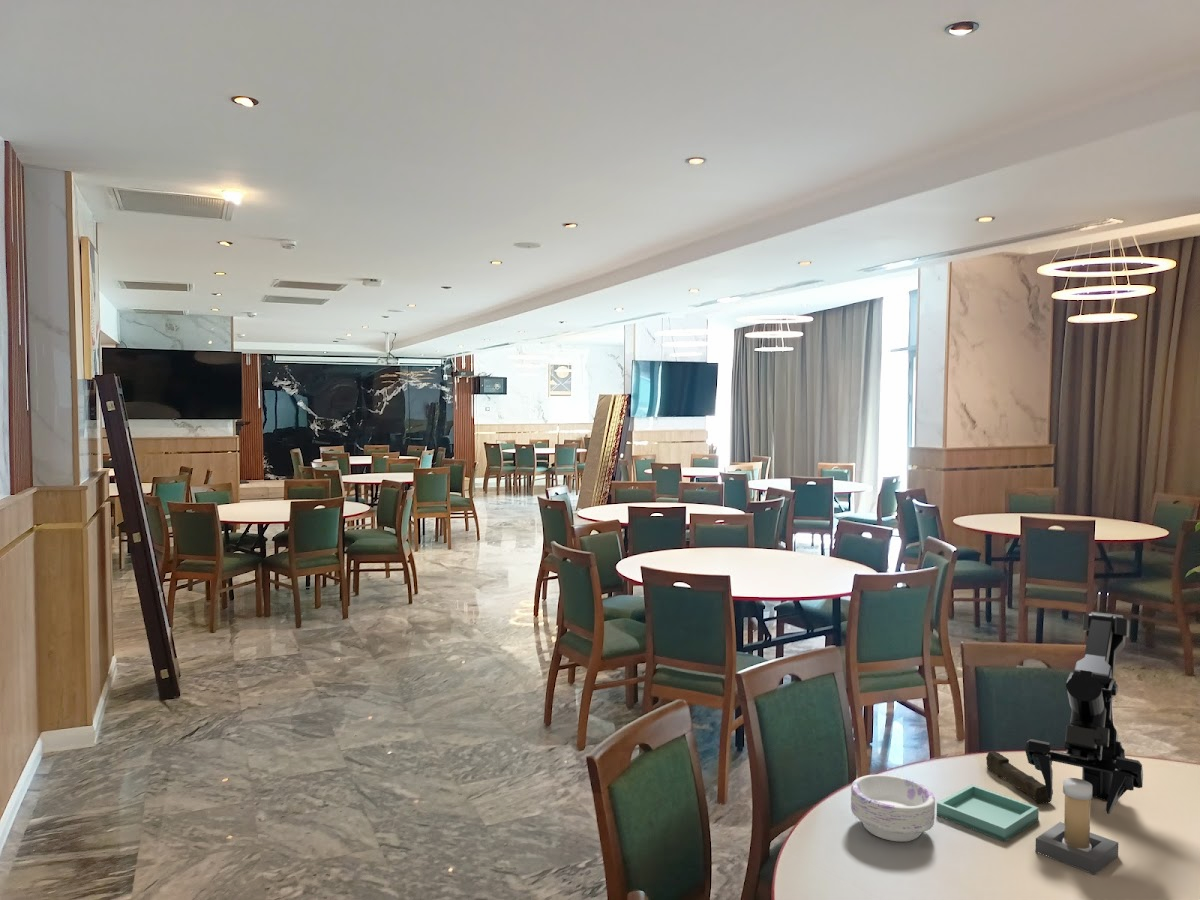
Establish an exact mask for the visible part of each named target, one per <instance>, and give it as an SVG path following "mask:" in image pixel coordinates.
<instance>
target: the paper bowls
mask: <svg viewBox="0 0 1200 900" xmlns="http://www.w3.org/2000/svg"><path fill="white" fill-rule="evenodd" d="M850 789H851V794H850V810H851V812H852V815H854V816H855V817H856V819H858V820H859V821H860V822H862V825H863V826H864V828H865V829H866V830H867V831H868V832H869V833H870V834H872V835H873V836H876V837H877V838H880V839H883V840H887V841H889V842H890V841H891V842H897V843H898V842H909V841H914V840H916V839H917V838H919V836H920V835H921V834H922V833H925V832H927V831H929V830H931V829H932V828H933V827H934V824H935V815H936V814H935V810H936V798H935V795H934V793H933V792H932V791H931V790H930V789H929V788H927V787H926V786H925V785H923V784H921V783H919V782H917V781H914V780H911V779H908V778H905V777H901V776H897V775H896V776H895V775H891V774H889V775H888V774H868V775H867V774H866V775H863V776H860V777H858V778H855V780H854V781H852V783H851V787H850Z"/></svg>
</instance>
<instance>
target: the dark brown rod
mask: <svg viewBox="0 0 1200 900" xmlns="http://www.w3.org/2000/svg"><path fill="white" fill-rule="evenodd" d="M985 758H986V766H987V769H988V770H989V771H990V772H991V773H992V774H994V776H995V777H997V778H999V779H1004V780H1005V781H1008V782H1009V783H1010V784H1012V785H1014V787H1016V788H1018V789H1020V790H1021V791H1023V793H1025V794H1027V795H1028V796H1029V797H1030V798H1032V799H1034V802H1035V803H1036V804H1037V805H1045V804H1046V805H1047V804H1049V803H1051V801H1052V798H1053V797H1052V798H1051V800H1048V795H1047V790H1046V785H1045V783H1042V782H1040V781H1039V780H1038V779H1035V777H1034V776H1032V775H1029V774H1027V773H1026V772H1024V771H1022V770H1021V769H1019V768H1017V767H1016V766H1014V765H1013V764H1011V763H1010V760H1009V758H1007V757H1006V756H1004V755H1003V754H1001V753H1000V752H997V751H994V750H990V751H989V752H987V755H986V757H985ZM1053 794H1054V789H1053V788H1052V795H1053Z"/></svg>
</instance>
